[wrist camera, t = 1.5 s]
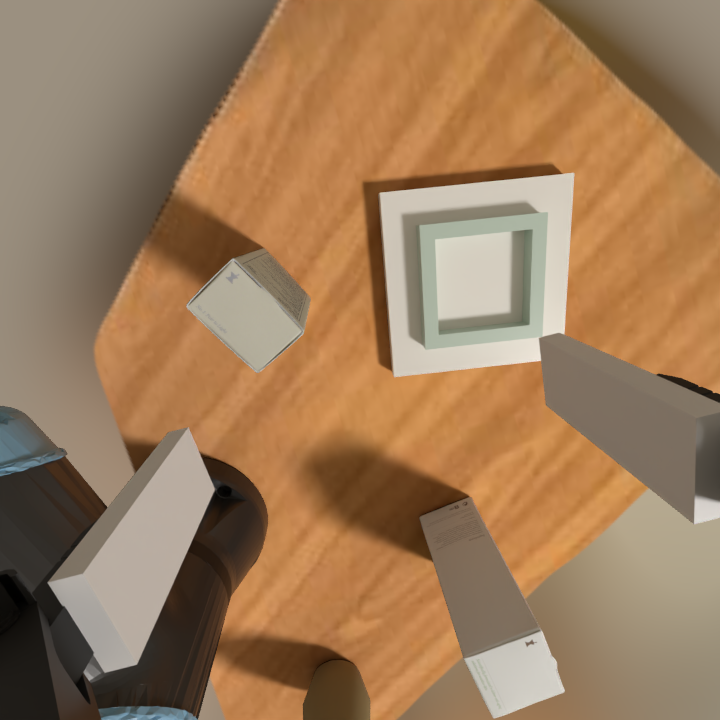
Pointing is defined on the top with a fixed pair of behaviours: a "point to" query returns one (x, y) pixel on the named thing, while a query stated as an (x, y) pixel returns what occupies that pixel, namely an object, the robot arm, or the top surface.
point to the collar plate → (475, 271)
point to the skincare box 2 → (489, 612)
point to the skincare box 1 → (253, 308)
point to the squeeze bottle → (337, 693)
